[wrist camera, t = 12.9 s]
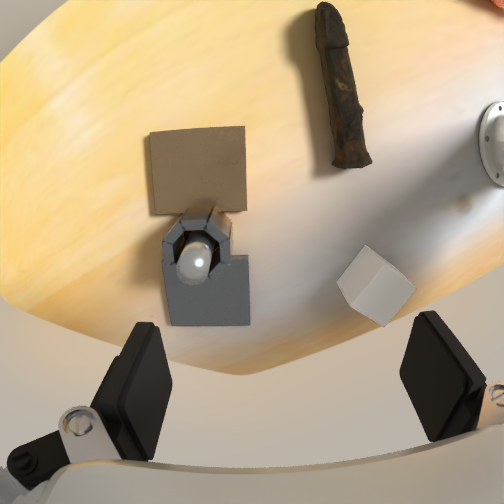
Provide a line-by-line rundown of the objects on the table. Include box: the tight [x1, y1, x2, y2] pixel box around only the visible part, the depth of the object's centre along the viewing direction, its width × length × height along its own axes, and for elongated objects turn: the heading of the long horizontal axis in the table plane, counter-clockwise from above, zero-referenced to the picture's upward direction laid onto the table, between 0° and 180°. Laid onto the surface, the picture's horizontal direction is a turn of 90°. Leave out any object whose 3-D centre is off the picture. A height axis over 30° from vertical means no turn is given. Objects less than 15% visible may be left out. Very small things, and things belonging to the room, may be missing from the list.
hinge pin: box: [176, 230, 215, 285], centre depth 31 cm, size 3×3×10 cm
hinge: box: [150, 126, 250, 326], centre depth 33 cm, size 10×24×6 cm, turn 1°
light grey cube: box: [336, 245, 416, 327], centre depth 36 cm, size 6×6×6 cm
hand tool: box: [315, 2, 372, 169], centre depth 28 cm, size 19×4×5 cm, turn 8°
